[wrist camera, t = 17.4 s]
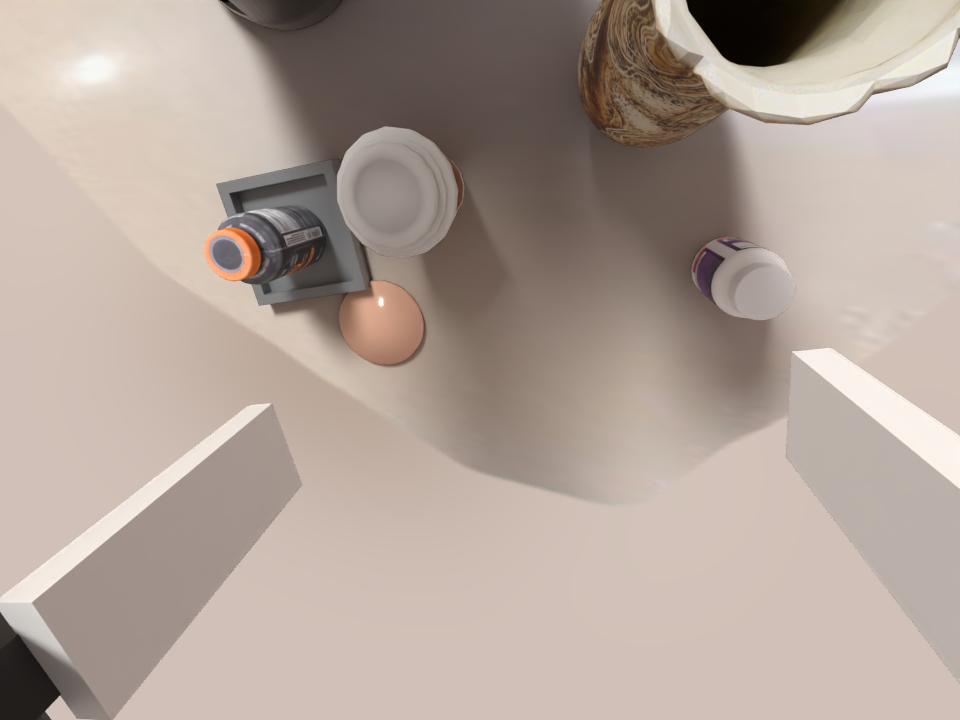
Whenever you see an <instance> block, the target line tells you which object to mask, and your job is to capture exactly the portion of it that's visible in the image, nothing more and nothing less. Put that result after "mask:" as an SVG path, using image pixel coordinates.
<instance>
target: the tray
mask: <svg viewBox="0 0 960 720" xmlns="http://www.w3.org/2000/svg"><path fill="white" fill-rule="evenodd" d="M340 166H341V163H340V160H339V159H330V160H325V161H321V162H316V163H311V164H307V165H302V166H298V167H293V168H288V169H284V170H279V171H274V172H270V173H265V174H260V175H256V176H251V177H246V178H242V179H237V180H233V181H228V182H223V183H219V184H216V185H217V188H218V191H219V194H220V196H221V199H222V202H223V205H224V208H225V211H226V213H227V216H228V217H230V216H232V215H234V214H237V213H244V212H249V211H254V210H260V209H267V208H274V207H280V206H287V205H298V206H302V207H304V208H306V209H308V210H309V211H311V212H312V213H314V214H315V215H316V217H317V218H318V219H319V220H320V222H321V224H322V225H323V228H324V230H325V234H326V247H325V250H324V253H323V255H322V257H321V258H320V259H319V260H318V261H317V262H316V263H314V264H312V265H310V266H307V267H305V268H302V269H300V270H298V271H295V272H293V273H290V274H288V275H285V276H283V277H281V278H278V279H276V280H273V281H271V282H268V283H265V284H260V285H254V284H252V287H253V290H254V293H255V296H256V299H257V301H258V304H259V306H260V305H267V304H274V303H280V302H287V301H294V300H300V299H307V298H314V297H320V296H327V295H334V294H341V293H347V292H354V291H361V290H366V289H368V288H369V287H370V284H369V282H370V281H371V278H370V274H369V270H368V267H367V263H366V259H365V255H364V251H363V247H362V244H361V242H360V241H359V239H358V238H357V237H356V236H355V235H354V233H353V232H352V231H351V230H350V229H349V227H348V226H347V225H346V223H345V220H344V218H343V215H342V212H341V210H340V207H339V204H338V202H337V174H338V171H339V169H340Z"/></svg>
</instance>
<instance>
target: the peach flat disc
mask: <svg viewBox="0 0 960 720" xmlns="http://www.w3.org/2000/svg"><path fill="white" fill-rule="evenodd" d="M369 284H370V287H369V288H368V289H366V290H361V291H354V292H349V293H348V294H347V295H346V296H345V298H344V299H343V301H342V303H341V307H340V311H339V325H340V329H341V332H342V335H343V337H344V339H345V341H346V342H347V344H348V345H349V346H350V348H351V349H352V350H353V351H354V352H355V353H357V354H358V355H359V356H361V357H362V358H364V359H366V360H368V361H370V362H373V363H377V364H384V365H388V364H396V363H399V362H401V361H404V360H405V359H407V358H408V357H410V356H411V355H412V354H413V353H414V352H415V350H416V349H417V348H418V346H419V345H420V343H421V340H422V337H423V333H424V321H423V316H422V312H421V310H420V308H419V306H418V304H417V302H416V301H415V300H414V298H413V297H412V296H411V295H410V294H409V293H408V292H407V291H406V290H404V289H403V288H401V287H400V286H398V285H396V284H394V283H391V282H388V281H382V280H373V281H370V282H369Z"/></svg>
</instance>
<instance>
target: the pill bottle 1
mask: <svg viewBox="0 0 960 720" xmlns="http://www.w3.org/2000/svg"><path fill="white" fill-rule="evenodd" d="M325 247H326V234H325V230H324V228H323V225H322V224H321V222H320V220H319V219H318V218H317V217H316V215H315V214H314V213H312V212H311V211H309V210H308V209H306V208H304V207H302V206H298V205H287V206H280V207H274V208H267V209H260V210H254V211H249V212H244V213H237V214H234V215H232V216H230V217H228V218H227V219H225V220H224V221H223V222H222V223H221V225H220V226H219V228H218V230H217V231H215V232H213V233H212V234H211V235H210V236H209V237H208V238H207V240H206V243H205V248H204V249H205V257H206V260H207V262H208V264H209V266H210V267H211V269H212V270H213V271H214V272H215V273H216V274H217V275H219V276H220V277H222V278H224V279H226V280H230V281H239V280H240V281H242V282H244V283H248V284H254V285H260V284H265V283H268V282H271V281H273V280H276V279H278V278H281V277H283V276H285V275H288V274H290V273H293V272H295V271H298V270H300V269H302V268H305V267H307V266H310V265H312V264H314V263H316V262H317V261H318V260H319V259H320V258H321V257H322V255H323V253H324V250H325Z"/></svg>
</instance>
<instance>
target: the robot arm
mask: <svg viewBox="0 0 960 720" xmlns="http://www.w3.org/2000/svg"><path fill="white" fill-rule="evenodd" d="M218 1H220V2H221V3H222V4H223V5H225V6H226V7H227V8H229V9H230V10H232V11H233V12H235V13H236V14H238V15H240V16H242V17H244V18H246V19H248V20H250V21H252V22H255V23H257V24H259V25H261V26H264V27H267V28H271V29H276V30H297V29H302V28H305V27H308V26H311V25H313V24H316V23H317V22H319V21H321V20H322V19H324V18H325V17H327V16H328V15H329V14H330V13H332V12H333V11H334V10H335V9H336V8H337V6H338V5H339V4H340V3H341V2H342V0H218ZM786 458H787V459H788V460H789V462H790V463H791V464H792V466H793V467H794V468H795V470H796V471H797V472H798V474H799V475H800V476H801V478H802V479H803V480H804V481H805V483H806V484H807V485H808V486H809V488H810V489H811V491H812V492H813V493H814V495H815V496H816V497H817V498H818V500H819V501H820V502H821V504H822V505H823V506H824V507H825V509H826V510H827V512H828V513H829V514H830V515H831V517H832V518H833V519H834V521H835V522H836V523H837V525H838V526H839V527H840V529H841V530H842V531H843V532H844V534H845V535H846V536H847V538H848V539H849V540H850V542H851V543H852V544H853V545H854V546H855V548H856V549H857V551H858V552H859V553H860V555H861V556H862V557H863V559H864V560H865V561H866V563H867V564H868V565H869V566H870V568H871V569H872V570H873V572H874V573H875V574H876V575H877V577H878V578H879V580H880V581H881V582H882V583H883V585H884V586H885V587H886V589H887V590H888V591H889V593H890V594H891V595H892V597H893V598H894V599H895V600H896V602H897V603H898V604H899V605H900V607H901V608H902V610H903V611H904V612H905V614H906V615H907V616H908V617H909V619H910V620H911V621H912V623H913V624H914V625H915V627H916V628H917V629H918V630H919V632H920V633H921V634H922V636H923V637H924V638H925V640H926V641H927V642H928V644H929V645H930V646H931V647H932V649H933V650H934V651H935V652H936V654H937V655H938V657H939V658H940V659H941V660H942V662H943V663H944V664H945V666H946V667H947V668H948V670H949V671H950V672H951V673H952V675H953V676H954V677H955V679H956V680H957V681H958V683H959V684H960V436H959V435H957V434H956V433H954V432H953V431H951V430H950V429H948V428H947V427H946V426H944V425H943V424H941V423H940V422H938V421H937V420H935V419H934V418H932V417H931V416H929V415H928V414H927V413H925V412H924V411H922V410H921V409H919V408H918V407H916V406H915V405H913V404H912V403H910V402H909V401H907V400H906V399H905V398H903V397H901V396H900V395H899V394H897V393H896V392H894V391H893V390H891V389H890V388H888V387H887V386H886V385H884V384H883V383H881V382H880V381H878V380H877V379H875V378H874V377H872V376H871V375H869V374H868V373H867V372H865V371H864V370H862V369H861V368H859V367H858V366H856V365H855V364H853V363H852V362H850V361H849V360H848V359H846V358H845V357H843V356H842V355H840V354H839V353H837V352H836V351H834V350H833V349H831V348H823V349H813V350H803V351H793V352H792V354H791V372H790V389H789V407H788V426H787V443H786ZM301 486H302V483H301V480H300V477H299V475H298V472H297V469H296V466H295V464H294V461H293V458H292V456H291V453H290V450H289V447H288V445H287V442H286V439H285V437H284V434H283V431H282V429H281V426H280V423H279V421H278V418H277V415H276V412H275V410H274V407H273V404H272V403H270V404H261V405H250V406H247V407H246V408H245V409H243V410H242V411H241V412H240V413H238V414H237V415H236V416H234V417H233V418H232V419H230V420H229V421H228V422H227V423H225V424H224V425H223V426H221V427H220V428H219V429H217V430H216V431H215V432H214V433H213V434H211V435H210V436H208V437H207V438H206V439H205V440H203V441H202V442H201V443H199V444H198V445H197V446H195V447H194V448H193V449H192V450H190V451H189V452H188V453H186V454H185V455H184V456H183V457H181V458H180V459H179V460H177V461H176V462H175V463H173V464H172V465H171V466H170V467H168V468H167V469H166V470H164V471H163V472H162V473H161V474H159V475H158V476H157V477H155V478H154V479H153V480H151V481H150V482H149V483H148V484H146V485H145V486H144V487H142V488H141V489H140V490H139V491H137V492H136V493H135V494H133V495H132V496H131V497H129V498H128V499H127V500H126V501H124V502H123V503H122V504H120V505H119V506H118V507H117V508H115V509H114V510H113V511H111V512H110V513H109V514H108V515H106V516H105V517H104V518H102V519H101V520H100V521H98V522H97V523H96V524H95V525H93V526H92V527H91V528H89V529H88V530H87V531H85V532H84V533H83V534H82V535H80V536H79V537H78V538H77V539H75V540H74V541H73V542H71V543H70V544H69V545H68V546H66V547H65V548H63V549H62V550H61V551H60V552H58V553H57V554H56V555H55V556H53V557H52V558H51V559H49V560H48V561H47V562H45V563H44V564H43V565H42V566H40V567H39V568H38V569H36V570H35V571H34V572H33V573H31V574H30V575H29V576H27V577H26V578H25V579H23V580H22V581H21V582H19V583H18V584H17V585H16V586H14V587H13V588H12V589H10V590H9V591H8V592H7V593H5V594H4V595H3V596H2V597H0V720H51V719H50V717H49V716H48V715H47V713H46V712H45V711H46V709H47V708H48V707H49V706H50V705H51V704H52V703H53V702H54V701H55V700H56V699H57V698H58V697H59V696H61V697H62V698H63V700H64V701H65V703H66V704H67V705H68V707H69V708H70V710H71V711H72V712H73V714H74V715H75V717H76V718H79V719H93V720H113V719H114V718H115V716H116V715H117V714H118V713H119V711H120V710H121V709H122V707H123V706H124V705H125V704H126V702H127V701H128V700H129V699H130V698H131V696H132V695H133V694H134V693H135V692H136V690H137V689H138V688H139V687H140V685H141V684H142V683H143V681H144V680H145V679H146V678H147V677H148V675H149V674H150V673H151V672H152V670H153V669H154V668H155V667H156V665H157V664H158V663H159V662H160V660H161V659H162V658H163V657H164V655H165V654H166V653H167V652H168V651H169V649H170V648H171V647H172V646H173V644H174V643H175V642H176V641H177V639H178V638H179V637H180V636H181V634H182V633H183V632H184V631H185V630H186V628H187V627H188V626H189V624H190V623H191V622H192V621H193V620H194V618H195V617H196V616H197V615H198V613H199V612H200V611H201V610H202V608H203V607H204V606H205V605H206V603H207V602H208V601H209V600H210V598H211V597H212V596H213V595H214V594H215V592H216V591H217V589H219V587H220V586H221V585H222V584H223V582H224V581H225V580H226V579H227V578H228V576H229V575H230V574H231V572H232V571H233V570H234V569H235V568H236V566H237V565H238V564H239V563H240V561H241V560H242V559H243V558H244V556H245V555H246V554H247V553H248V551H249V550H250V549H251V548H252V547H253V545H254V544H255V543H256V541H257V540H258V539H259V538H260V537H261V535H262V534H263V533H264V532H265V530H266V529H267V528H268V527H269V525H270V524H271V523H272V521H273V520H274V519H275V518H276V517H277V516H278V514H279V513H280V512H281V511H282V509H283V508H284V507H285V506H286V504H287V503H288V502H289V501H290V499H291V498H292V497H293V496H294V494H295V493H296V492H297V491H298V490H299V488H300V487H301Z"/></svg>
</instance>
